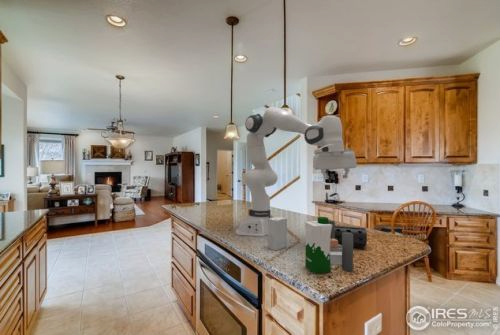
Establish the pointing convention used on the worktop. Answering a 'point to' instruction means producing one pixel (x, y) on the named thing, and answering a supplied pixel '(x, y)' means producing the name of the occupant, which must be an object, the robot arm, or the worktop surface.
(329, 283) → the worktop surface
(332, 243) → the block
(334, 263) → the panel
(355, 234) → the muzzle brake
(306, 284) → the worktop surface
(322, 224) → the soya milk
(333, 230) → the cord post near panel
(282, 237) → the skincare box
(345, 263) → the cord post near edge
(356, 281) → the worktop surface
